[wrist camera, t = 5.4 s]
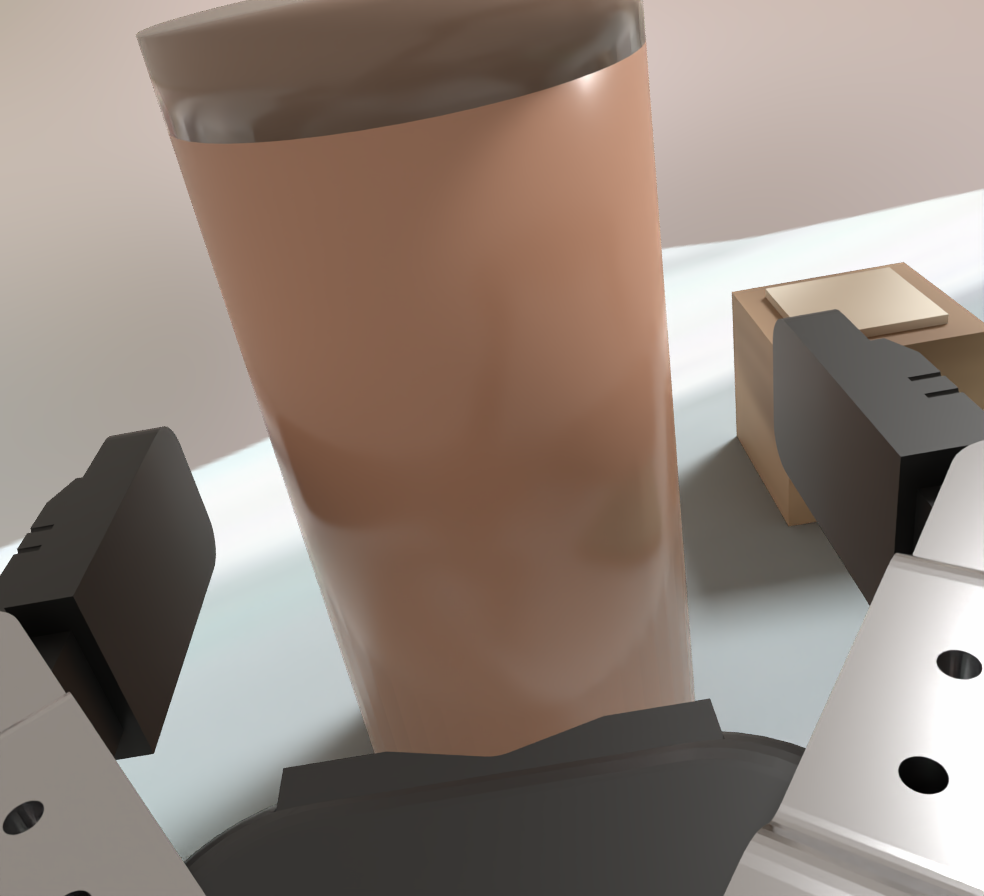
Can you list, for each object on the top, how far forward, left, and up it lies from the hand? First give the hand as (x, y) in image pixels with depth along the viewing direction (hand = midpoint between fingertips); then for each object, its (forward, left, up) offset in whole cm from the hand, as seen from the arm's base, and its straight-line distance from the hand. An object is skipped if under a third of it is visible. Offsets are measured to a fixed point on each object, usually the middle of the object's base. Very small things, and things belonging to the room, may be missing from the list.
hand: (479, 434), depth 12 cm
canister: (0, -1, -7) cm, 7 cm away
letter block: (-8, -7, -7) cm, 13 cm away
